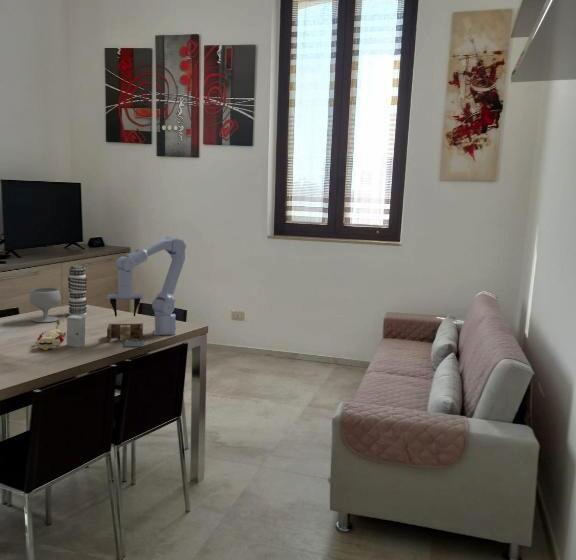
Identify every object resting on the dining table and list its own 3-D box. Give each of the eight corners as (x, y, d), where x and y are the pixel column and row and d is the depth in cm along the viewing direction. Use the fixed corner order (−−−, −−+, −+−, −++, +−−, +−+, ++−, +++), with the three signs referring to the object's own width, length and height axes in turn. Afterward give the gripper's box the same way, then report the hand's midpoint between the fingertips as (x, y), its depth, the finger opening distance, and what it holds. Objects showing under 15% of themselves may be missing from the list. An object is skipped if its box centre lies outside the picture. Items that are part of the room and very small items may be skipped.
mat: (144, 342, 236) (144, 340, 236) (143, 347, 229) (143, 345, 229) (124, 342, 234) (124, 341, 234) (123, 347, 227) (123, 346, 227)
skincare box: (66, 345, 226) (65, 316, 224) (73, 343, 230) (73, 314, 228) (78, 347, 224) (78, 318, 222) (86, 344, 228) (85, 316, 226)
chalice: (43, 325, 257) (43, 293, 255) (23, 321, 263) (22, 290, 261) (67, 319, 270) (67, 289, 268) (47, 315, 276) (46, 286, 274)
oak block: (130, 338, 242) (130, 324, 241) (129, 340, 238) (129, 327, 237) (120, 338, 241) (120, 324, 240) (120, 340, 237) (120, 327, 236)
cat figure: (46, 338, 240) (31, 350, 215) (46, 318, 239) (31, 328, 215) (70, 338, 242) (58, 350, 217) (70, 318, 241) (58, 328, 217)
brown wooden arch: (142, 335, 247) (142, 323, 246) (142, 341, 237) (142, 329, 236) (109, 335, 243) (109, 323, 243) (107, 342, 234) (107, 329, 233)
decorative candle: (64, 315, 278) (63, 266, 274) (74, 311, 287) (73, 264, 284) (81, 316, 277) (80, 267, 273) (90, 313, 286) (90, 265, 282)
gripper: (142, 283, 241) (142, 313, 243) (107, 283, 237) (108, 314, 240) (142, 286, 235) (142, 317, 237) (106, 286, 231) (107, 317, 233)
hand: (125, 315), depth 238 cm, fingers open, 7 cm apart
